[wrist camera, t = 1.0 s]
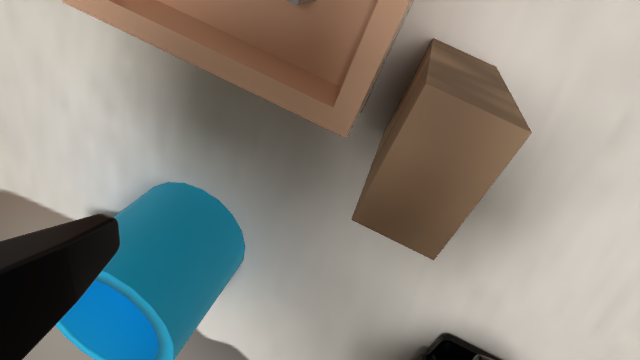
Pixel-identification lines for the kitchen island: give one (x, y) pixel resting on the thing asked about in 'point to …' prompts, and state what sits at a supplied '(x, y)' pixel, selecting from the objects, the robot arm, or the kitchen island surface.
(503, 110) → the wooden rectangular block
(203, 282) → the mug
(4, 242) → the robot arm
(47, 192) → the kitchen island surface
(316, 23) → the shallow wooden tray
